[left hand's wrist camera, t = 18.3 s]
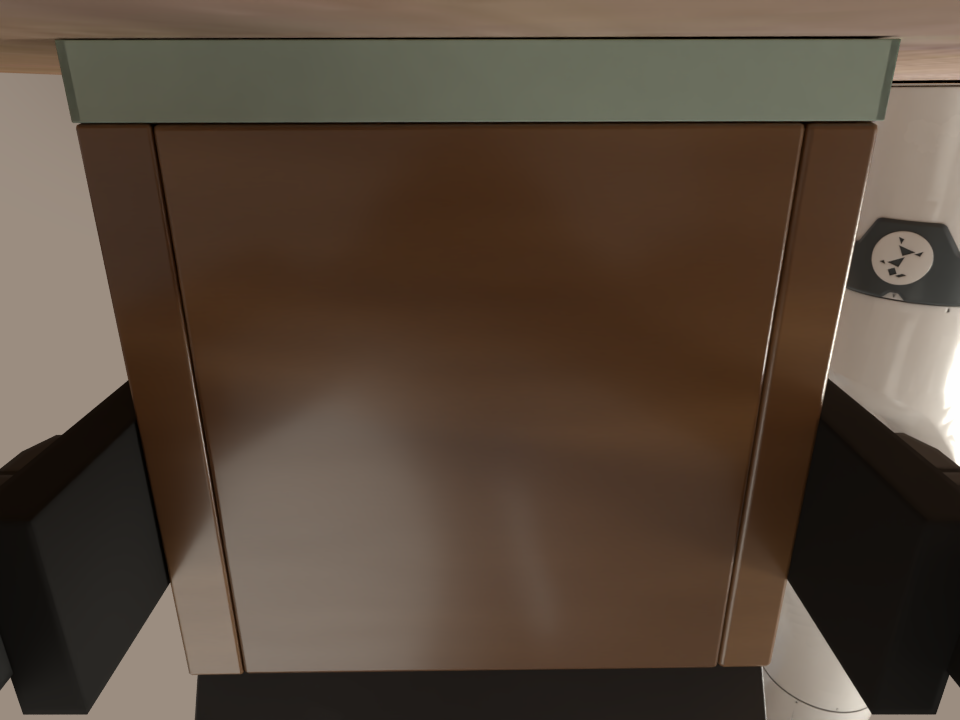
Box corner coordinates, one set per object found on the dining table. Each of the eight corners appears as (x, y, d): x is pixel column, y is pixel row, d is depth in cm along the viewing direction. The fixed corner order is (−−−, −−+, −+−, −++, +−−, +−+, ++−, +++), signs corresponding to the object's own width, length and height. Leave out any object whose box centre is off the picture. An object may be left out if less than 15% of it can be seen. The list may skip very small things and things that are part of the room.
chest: (621, 75, 21) (602, 348, 24) (324, 76, 21) (346, 350, 24) (901, 38, 7) (773, 669, 11) (54, 40, 7) (187, 677, 11)
